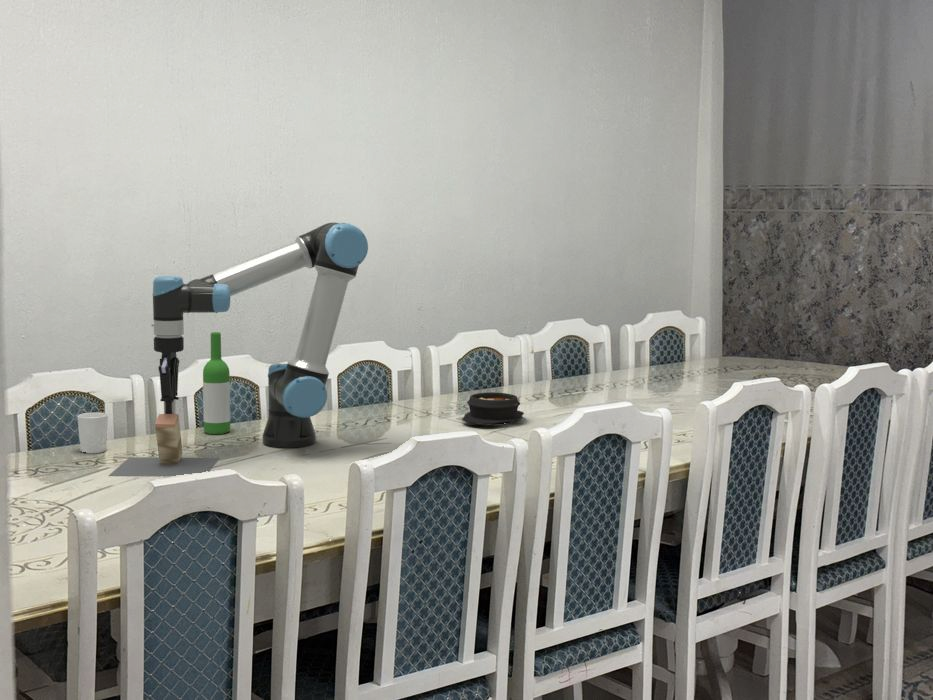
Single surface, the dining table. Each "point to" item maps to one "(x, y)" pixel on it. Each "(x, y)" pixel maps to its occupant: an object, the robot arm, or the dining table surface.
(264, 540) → the dining table surface
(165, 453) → the maple block
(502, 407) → the casserole
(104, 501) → the dining table surface
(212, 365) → the wine bottle
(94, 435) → the white cup
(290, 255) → the robot arm
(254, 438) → the dining table surface
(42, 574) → the dining table surface
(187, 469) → the mat
